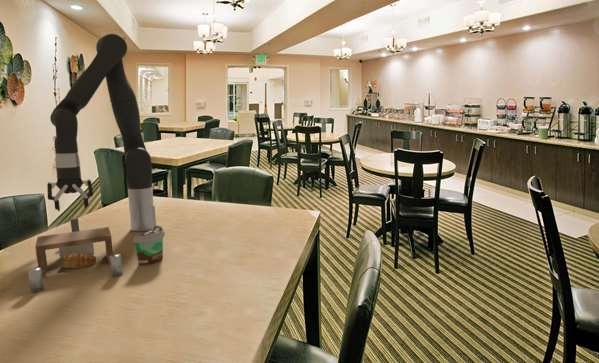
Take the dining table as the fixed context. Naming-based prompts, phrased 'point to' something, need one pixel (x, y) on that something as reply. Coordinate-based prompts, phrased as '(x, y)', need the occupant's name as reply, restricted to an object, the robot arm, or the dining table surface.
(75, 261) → the pastry
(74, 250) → the scraper
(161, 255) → the food container
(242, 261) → the dining table surface
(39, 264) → the low shelf
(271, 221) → the dining table surface
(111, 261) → the goal posts
